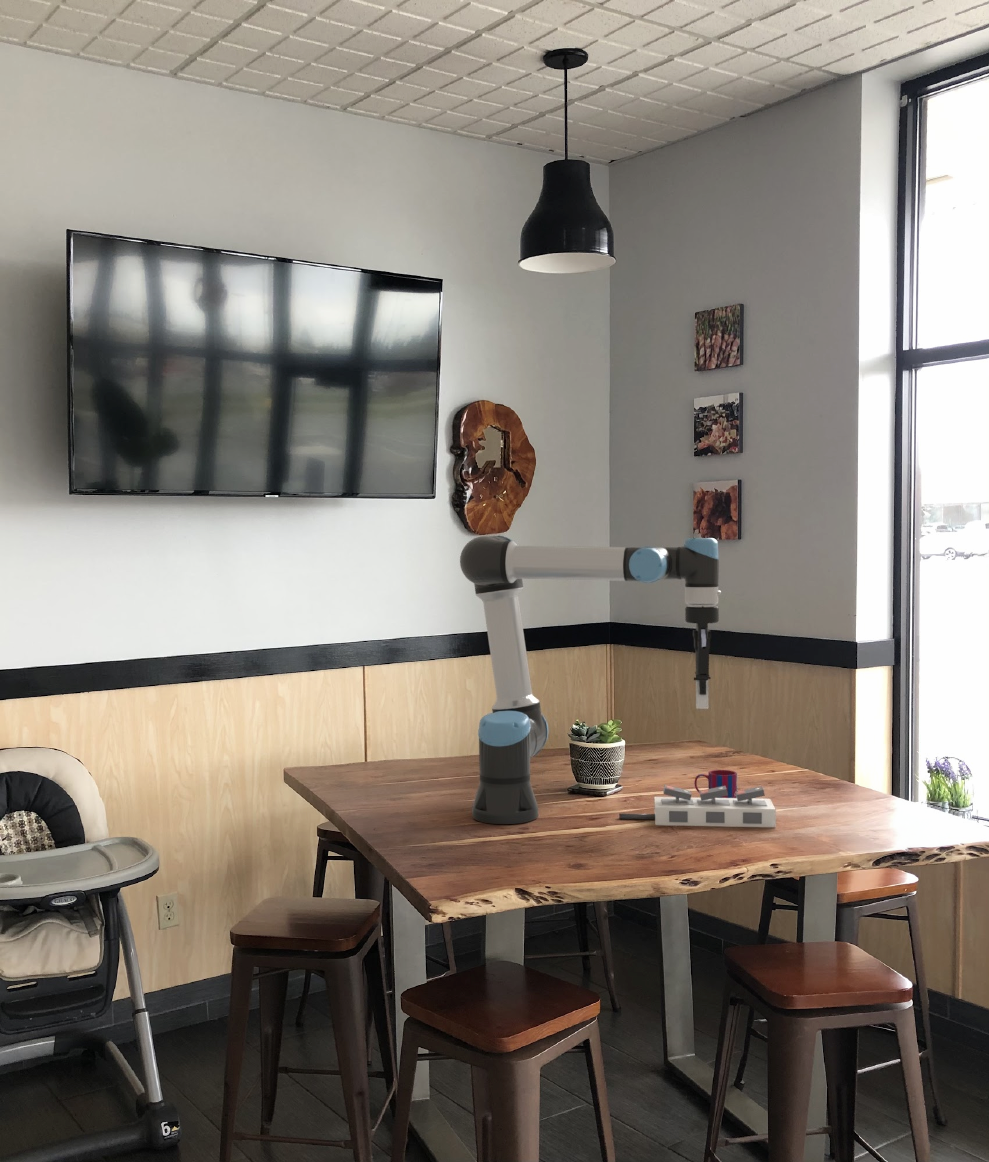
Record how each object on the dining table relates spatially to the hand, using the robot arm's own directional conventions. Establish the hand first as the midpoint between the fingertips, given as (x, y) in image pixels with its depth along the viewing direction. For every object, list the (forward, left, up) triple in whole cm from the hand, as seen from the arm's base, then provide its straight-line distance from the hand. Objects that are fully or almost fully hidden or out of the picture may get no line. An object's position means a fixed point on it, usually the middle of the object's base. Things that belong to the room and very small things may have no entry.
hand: (702, 708), depth 257 cm
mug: (+4, +14, -25) cm, 29 cm away
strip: (-2, -6, -24) cm, 25 cm away
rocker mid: (+2, -6, -18) cm, 19 cm away
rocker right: (+10, -6, -18) cm, 22 cm away
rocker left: (-6, -6, -18) cm, 20 cm away
